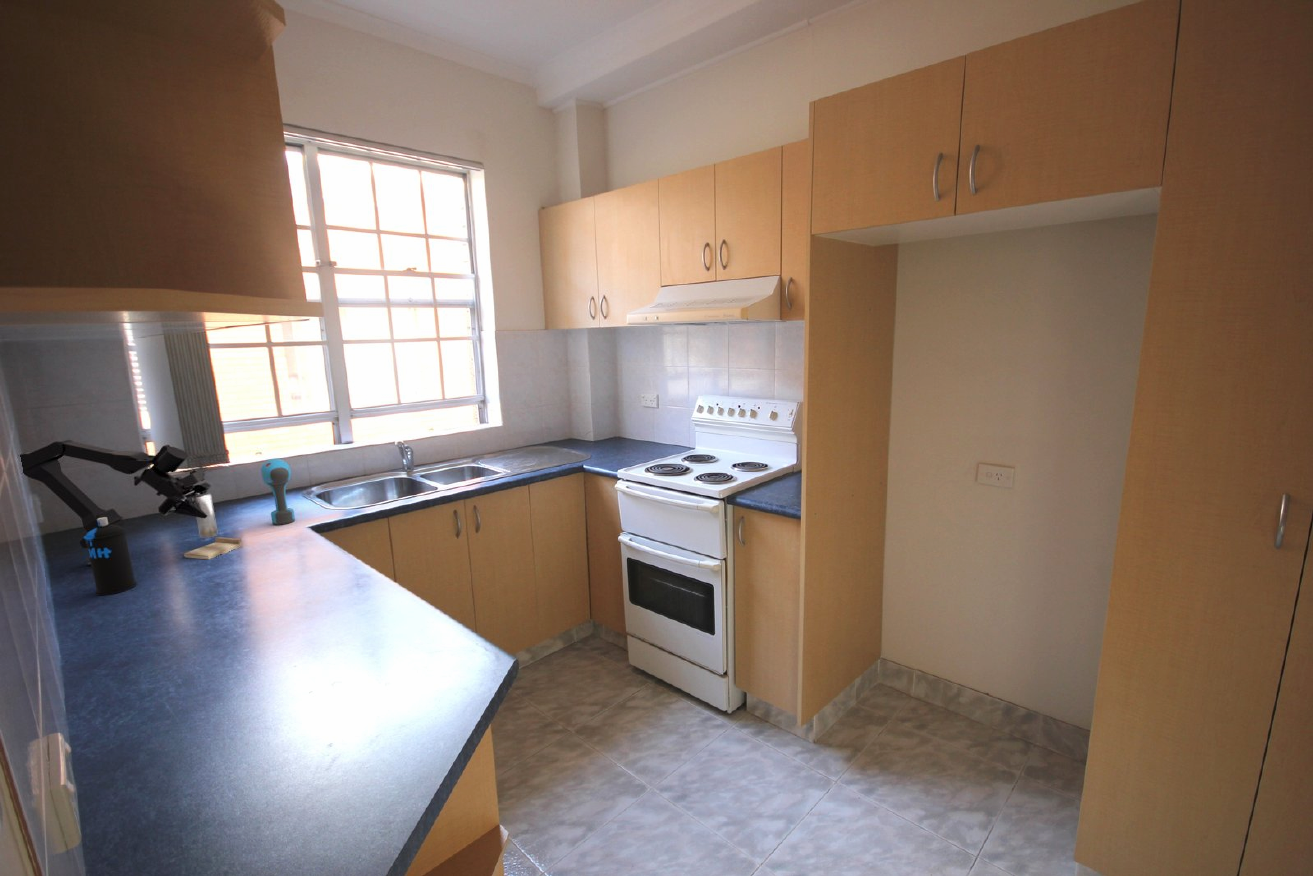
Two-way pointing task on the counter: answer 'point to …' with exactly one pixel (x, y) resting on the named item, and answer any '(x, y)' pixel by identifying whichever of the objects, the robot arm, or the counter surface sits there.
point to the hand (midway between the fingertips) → (210, 514)
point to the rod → (209, 523)
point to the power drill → (278, 489)
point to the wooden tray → (215, 548)
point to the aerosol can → (110, 558)
